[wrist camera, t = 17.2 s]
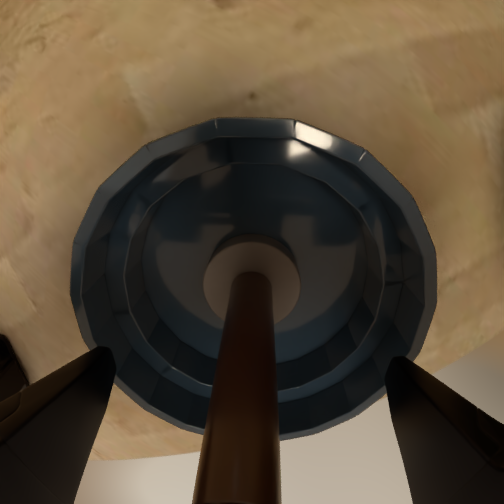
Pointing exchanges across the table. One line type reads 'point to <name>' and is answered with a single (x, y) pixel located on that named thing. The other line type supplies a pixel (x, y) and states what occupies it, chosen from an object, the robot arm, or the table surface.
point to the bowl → (264, 223)
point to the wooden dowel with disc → (245, 371)
